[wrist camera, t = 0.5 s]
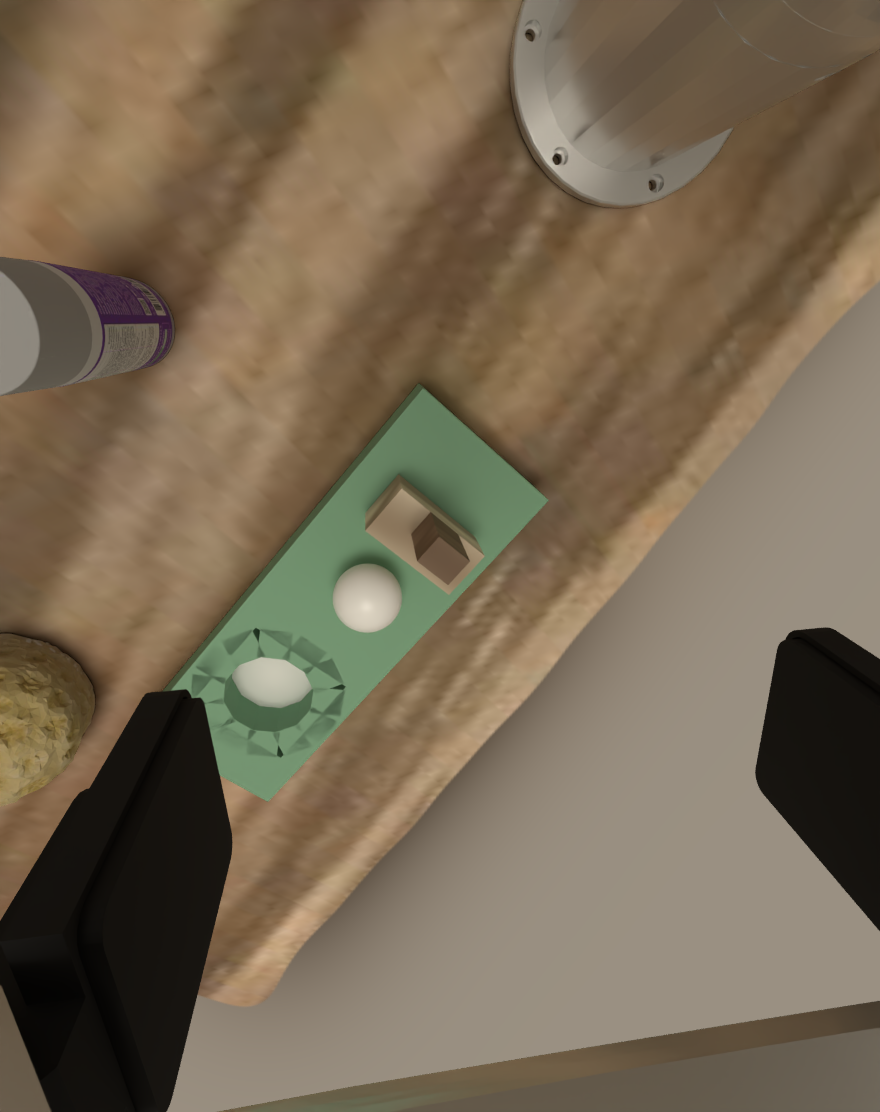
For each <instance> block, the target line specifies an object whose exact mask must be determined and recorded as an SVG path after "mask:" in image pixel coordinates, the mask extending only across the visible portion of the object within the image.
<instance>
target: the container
mask: <svg viewBox="0 0 880 1112" xmlns="http://www.w3.org/2000/svg"><path fill="white" fill-rule="evenodd" d="M174 335H175V326H174V320H173V317H172V314H171V311H170V309H169V307H168V305H167V304H166V302H165V301H164V299H163V298H162V297H161V296H160V295H159V294H158V293H157V292H156V291H155V290H154V289H152V288H151V287H150V286H148V285H146V284H145V283H143V282H140V281H138V280H135V279H131V278H126V277H121V276H115V275H110V274H104V273H99V272H94V271H88V270H83V269H77V268H72V267H66V266H61V265H55V264H50V263H44V262H39V261H32V260H22V259H14V258H6V257H0V396H3V395H9V394H15V393H22V392H28V391H34V390H41V389H47V388H53V387H61V386H66V385H71V384H75V383H80V382H84V381H89V380H93V379H98V378H102V377H107V376H111V375H116V374H120V373H125V372H129V371H134V370H138V369H143V368H146V367H150V366H152V365H155V364H156V363H158V362H160V361H161V360H162V359H163V358H164V357H165V356H166V355H167V354H168V352H169V351H170V349H171V347H172V344H173V341H174Z"/></svg>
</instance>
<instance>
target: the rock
mask: <svg viewBox="0 0 880 1112" xmlns="http://www.w3.org/2000/svg"><path fill="white" fill-rule="evenodd" d="M94 709H95V694H94V691H93V686H92V684H91V682H90V680H89V679H88V677H87V676H86V674H85V673H84V672H83V671H82V669H81V667H80V665H79V664H78V663H77V662H76V661H75V660H74V659H72V658H71V657H69V656H68V655H67V654H65V653H62V652H61V651H60V650H59V649H58V648H57V647H56V646H51V645H50V644H49V643H48V642H46V643H45V642H43V641H40V640H34V639H30V638H26V637H22V636H18V635H14V634H0V806H5V805H7V804H10V803H16V802H17V801H18V800H19V799H20V798H21V797H23V796H25V795H26V794H28V793H31V792H34V791H36V790H38V789H40V788H42V787H44V786H45V785H47V784H48V783H49V782H51V781H52V780H53V779H54V778H55V777H56V776H57V775H59V774H60V773H62V772H63V771H64V770H65V769H66V768H67V766H68V765H69V764H70V763H71V762H72V761H73V759H74V755H75V754H76V752H77V750H78V747H79V745H80V742H81V738H82V736H83V734H84V733H85V731H86V729H87V727H88V726H89V725H90V724H91V720H92V715H93V713H94Z"/></svg>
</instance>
